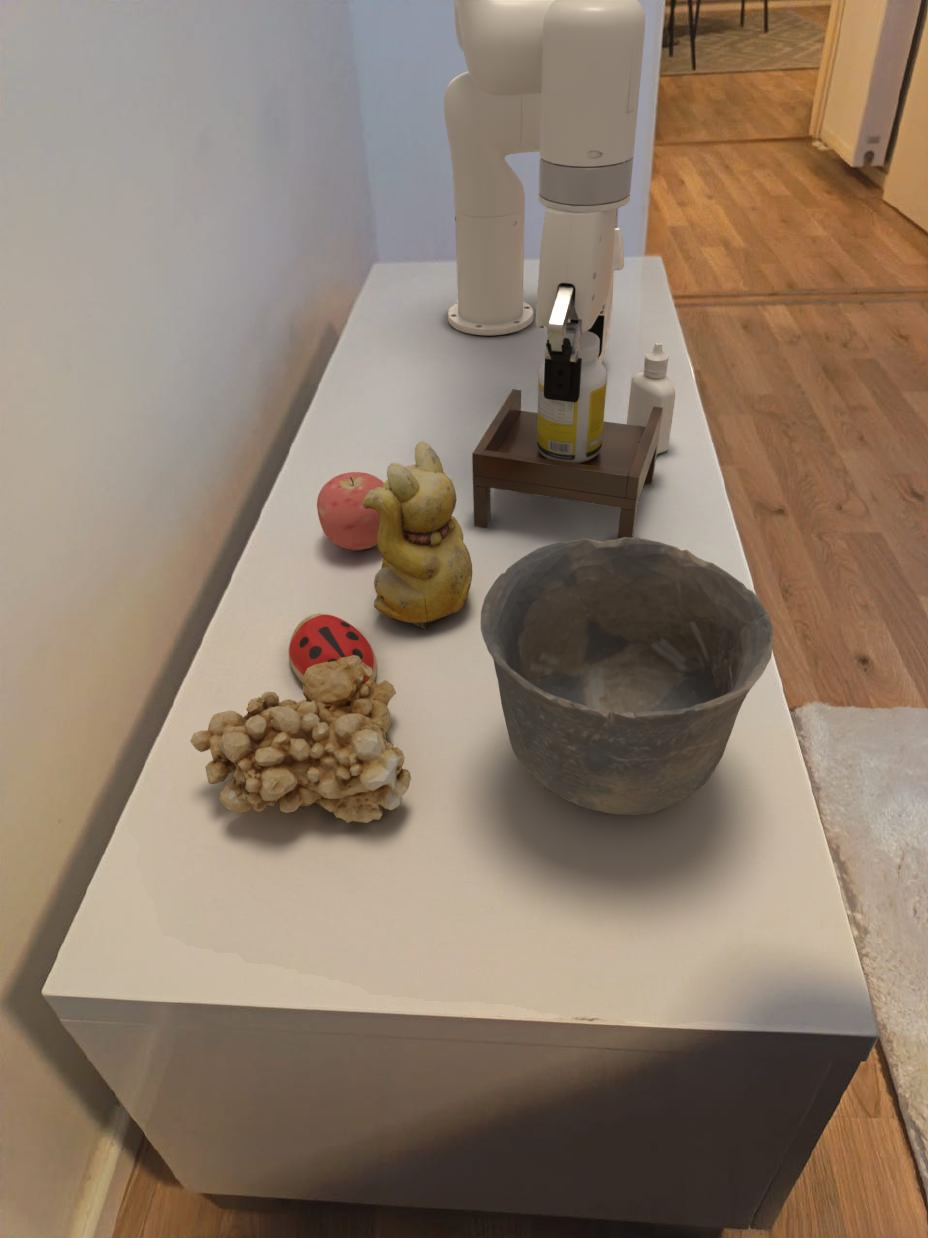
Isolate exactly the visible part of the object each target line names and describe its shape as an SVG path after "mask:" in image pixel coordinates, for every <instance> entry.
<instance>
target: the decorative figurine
mask: <svg viewBox="0 0 928 1238" xmlns="http://www.w3.org/2000/svg"><path fill="white" fill-rule="evenodd" d="M414 462H415V464H410V465H406V466H404V465H402V464H400V463H398V462H391V463H390V464H389V465H388V466H387V469H386V477H387V479H386V480H385V481H383V482H384V484H383V486H382V488H381V487H376V488H374V489H372V490H370V491H369V492H367V494H366V496H365V498H364V501H363V506H364V508H365V509H366V508H371V509H374V510H375V511H377V512H378V514H379V516H380V526H379V531H378V535H377V548H378V551H379V552H380V554H381V556H382V557H383V560H382V563H381V567H380V569H379V570H378V571H377V572H376V574H375V575H374V580H373V585H374V591H375V593H376V597H375V600H374V602H373V607H374V608H375V609H376V610H377V611H378V612H380V613H382V614H383V615H385V616H386V617H388V618H392V619H394V620H397V621H399V622H404V623H410V624H412V625H414V626H416V627H419V628H421V629H423V630H426V629H428V627H429V626H430V625H431V623H433V622H434V621H436V620H439V619H443V618H444V617H447V616H449V615H451V614H456V613H458V612H459V611H461V609H462V608H463V607H464V605H465V603H466V600H467V598H468V595H469V590H470V588H471V585H472V579H473V563H472V559H471V554H470V551H469V549H468V547H467V545H466V543H465V542H464V532H463V530H462V526H461V524H460V523H459V521H458V520H457V518H456V517H455V516H453V513H454V511H455V509H456V507H457V499H458V498H457V493H456V487H455V484H454V483H453V481H452V479H451V478H450V477H449V476H448V475H447V473H446V472H444V468H443V464H442V462H441V458H440V457H439V455H438V454H437V452H436V451H435V450H434V449H433V447H432V446H431V445H430V444H429V443H427V442H425V441H423V440H420V441H419V442H417V444H416V446H415V449H414Z"/></svg>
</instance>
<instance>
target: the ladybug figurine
mask: <svg viewBox="0 0 928 1238" xmlns="http://www.w3.org/2000/svg"><path fill="white" fill-rule="evenodd" d="M353 655H355V656H359V657H360V659H361V661H362V662H363V663H364V664H366V665H367V666H369V667H371V668H372V673H373V674H372V675H371V676H367V677H366V678H365V680H364V683H366V682H367V681H374V682H375V680H376V677H377V673H378V661H377V657H376V654H375V652H374V649H373V647H372V646H371V644H370V643H369V641H368V639H367V638H366V637H365V636H364V635H363V634H362V632H361V631H360V630H358V629H357V628H356V627H355V626H353V625H352V624H351V623H349V622H347V621H346V620H344V619H342V618H340V617H337V616H336V615H331V614H327V613H314V614H311V615H309V616H307V617H305V618H304V619H302V621H300V622H299V623H298V625H297V626H296V628H295V629H294V631H293V632H292V635H291V637H290V641H289V645H288V660H289V663H290V666H291V668H292V669H291V670H293V672H294V674H295V675H296V677H297V679H298V680H299V681H300V682H301V683H303V678H304V674H305V672H306V670H307V668H309V667H311V666H313V665H316V664H320V663H324V662H332V661H338V660H339V658H343V657H349V656H353Z"/></svg>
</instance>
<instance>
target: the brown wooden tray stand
mask: <svg viewBox="0 0 928 1238" xmlns="http://www.w3.org/2000/svg"><path fill="white" fill-rule="evenodd" d="M662 411H663V408H662V407H653V409H652V411H651V414H650V417H649V420H648V423H647V425H646V427H643V426H635V425H627V423H620V422H619V423H618V422H612V421H604V423H603V435H602V446H601V450H600V452H599V453H598V454H597V455H596V456H595V457H594V458H592V459H590V460H588V461H585V462H581V463H571V462H564V461H557V460H550V459H547V458H546V457H544V456H543V455H542V454H541V453H540V451H539V449H538V446H537V423H538V412H534V411H527V410H522V389H516V388H513V389H511V391H510V393H509V394H508V396H507V397H506V399H505V401H504V402H503V403H502V406H501V407H500V408H499V410H498V411H497V414H496V415H495V416H494V417H493V419H492V421H491V423H490V424H489V426H488V427H487V429H486V430H485V433H484V434H483V436H482V437H481V439H480V440H479V442H478V444H477V445H476V446H475V448H474V449H473V451H472V453H471V459H472V460H471V461H472V462H471V463H472V494H473V496H472V498H473V499H472V501H473V525H474V526H475V527H481V528H488V526H489V524H490V523H491V520H492V516H491V515H492V513H491V512H492V509H491V508H492V507H491V503H492V501H491V489H494V490H500V491H507V492H514V493H519V494H520V493H521V494H527V495H534V496H538V497H539V496H540V497H546V498H553V499H559V500H564V501H565V500H566V501H571V502H577V503H578V502H579V503H584V504H589V505H590V504H591V505H598V506H605V507H610V508H617V509H619V519H618V526H617V535H616V539H619V538H624V537H630V538H635V529H636V521H637V511H638V503H639V501H640V497H641V494H642V491H643V488H644V485H645V484H646V485H652V484H653V482H654V478H655V471H656V463H657V457H658V456H657V455H658V454H657V449H658V441H659V434H660V426H661V419H662Z"/></svg>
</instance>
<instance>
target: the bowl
mask: <svg viewBox="0 0 928 1238" xmlns="http://www.w3.org/2000/svg"><path fill="white" fill-rule="evenodd" d="M480 610H481V611H480V632H481V635H482V639H483V641H484V644H485V646H486V649H487V651H488V653H489V654H490V656H491V658H492V659H493V660H492V661H493V664H494V671H495V675H496V677H497V685H498V690H499V697H500V702H501V703H500V704H501V708H502V713H503V717H504V721H505V725H506V729H507V734H508V739H509V742H510V745H511V748H512V751H513V754H514V755H515V756H516V758H517V759H518V761H519V762H520V764H521V765H522V766H523V767H524V768H525V769H526V770H527V772H529V774H530V775H532V776H533V778H535V780H537V781H538V782H539V783H540V784H541V785H542V786H543V787H544V788H546V789H547V790H548V791H551V792H552V793H554V794H556V795H557V796H559V797H561V799H562V798H563V799H564V800H566V801H568V802H570V803H573V804H575V805H578V806H580V807H582V808H584V809H587V810H591V811H596V812H601V813H606V814H611V815H621V816H622V815H623V816H639V815H645V814H653V813H656V812H660V811H662V810H665V809H667V808H668V809H669V808H671V807H673V806H675V805H677V804H679V803H681V802H682V801H684V800H685V799H687V798H689V797H690V796H691V795H693V794H694V793H696V792H697V791H698V790H700V789H701V788H702V787H703V786H704V785H705V784H706V783H707V782H708V781H709V780H710V778H711V777H712V774H713V773H714V772H715V770H716V769H717V767H718V765H719V763H720V762H721V760H722V758H723V757H724V755H725V750H726V748H727V745H728V742H729V741H730V737H731V734H732V732H733V729H734V726H735V723H736V720H737V718H738V714H739V711H740V709H741V707H742V706H743V703H744V701H745V699H746V697H747V695H748V693H749V692H750V691H751V690H752V688H753V687H754V686H755V685H756V683H757V682H758V681H759V680H760V678H761V677H762V676H763V674H764V672H765V670H766V669H767V666H768V664H769V663H770V661H771V659H772V654H773V644H774V643H773V641H774V628H773V625H772V620H771V616H770V615H769V612H768V611H767V610H766V608H765V607H764V605H763V603H762V602H761V601H760V599H759V598H758V596H757V595H756V593H755V592H754V591H753V590H751V589H749V588H748V587H746V584H744V583H743V582H741V580H739V579H737V578H736V577H734V576H733V575H731V574H730V573H729V572H728V571H726V570H724V569H723V568H721V567H720V566H718V565H716V564H715V563H713V562H710V561H706V560H704V559H701V558H699V557H698V556H697V555H695V554H693V553H692V552H690V551H689V550H687V549H680V548H678V547H677V546H674V545H671V544H667V543H664V542H662V541H661V542H660V541H656V540H652V539H651V540H650V539H646V538H638V537H634V538H630V537H624V538H619V539H617V538H615V539H607V540H602V541H599V540H594V539H590V538H587V537H583V538H579V539H578V538H577V539H574V540H569V541H559V542H555V543H550V544H547V545H543V546H541V547H538V548H536V549H534V550H532V551H531V552H529V553H527V554H526V555H524V556H522V557H521V558H519V559H518V560H517V561H515V562H514V563H513V564H511V565H510V566H509V567H508V568H507V569H506V570H505V572H503V573H501V574H500V575H499V576H498V577H497V578H496V579H495V580H494V581H493V583H492V585H491V587H490V588H489V590H488V592H487V593H486V595H485V597H484V599H483V603H482V606H481V609H480Z"/></svg>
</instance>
